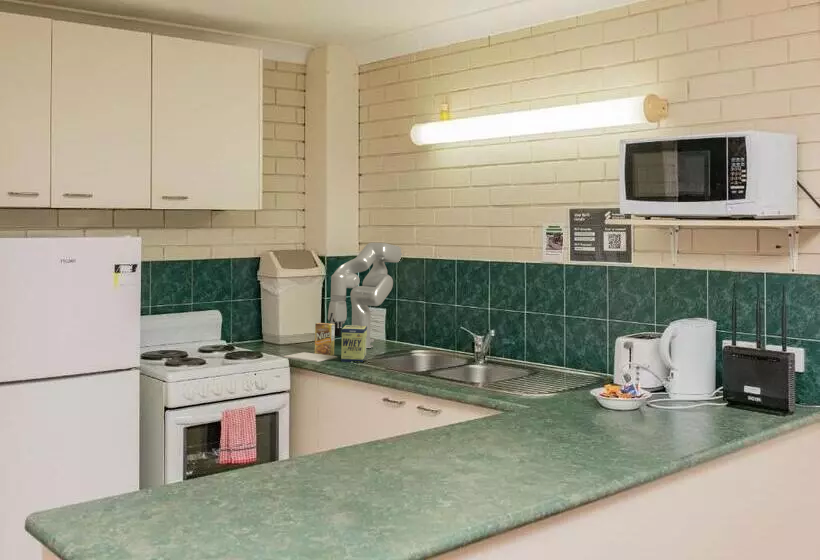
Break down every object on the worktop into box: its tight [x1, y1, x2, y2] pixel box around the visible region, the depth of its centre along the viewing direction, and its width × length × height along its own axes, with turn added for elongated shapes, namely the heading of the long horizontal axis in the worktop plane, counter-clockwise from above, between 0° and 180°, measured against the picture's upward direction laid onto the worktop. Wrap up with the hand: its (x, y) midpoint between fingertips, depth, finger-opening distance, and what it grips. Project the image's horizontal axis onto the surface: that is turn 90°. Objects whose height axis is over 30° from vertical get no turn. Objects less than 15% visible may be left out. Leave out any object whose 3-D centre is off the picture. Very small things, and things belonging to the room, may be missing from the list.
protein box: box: [340, 324, 367, 363], centre depth 425 cm, size 10×16×16 cm
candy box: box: [314, 322, 336, 356], centre depth 437 cm, size 9×4×15 cm, turn 70°
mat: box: [282, 351, 338, 363], centre depth 428 cm, size 16×20×1 cm
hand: (337, 335), depth 446 cm, fingers closed
